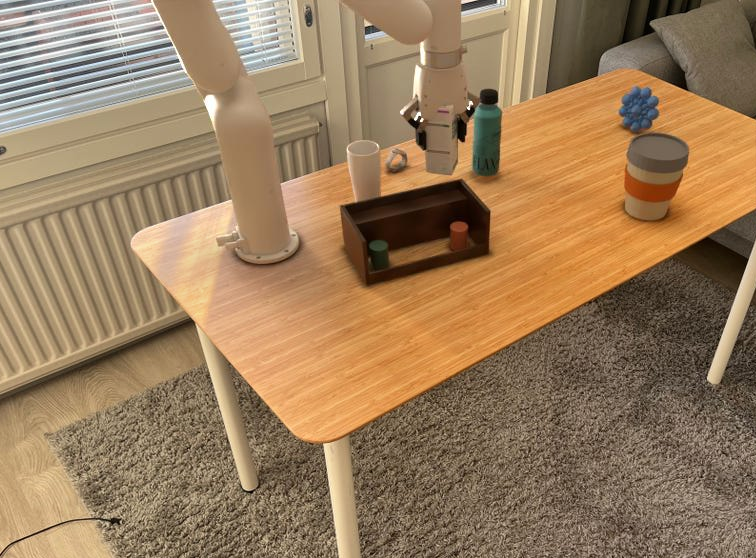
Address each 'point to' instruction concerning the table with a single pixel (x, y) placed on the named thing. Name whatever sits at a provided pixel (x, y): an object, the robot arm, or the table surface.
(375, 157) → the drinking glass
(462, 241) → the salmon pink cylinder
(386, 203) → the spice rack
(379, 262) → the green spice tin
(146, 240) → the table surface
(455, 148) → the syrup box
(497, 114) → the beverage bottle
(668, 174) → the reusable coffee cup
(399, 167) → the wristwatch
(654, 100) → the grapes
